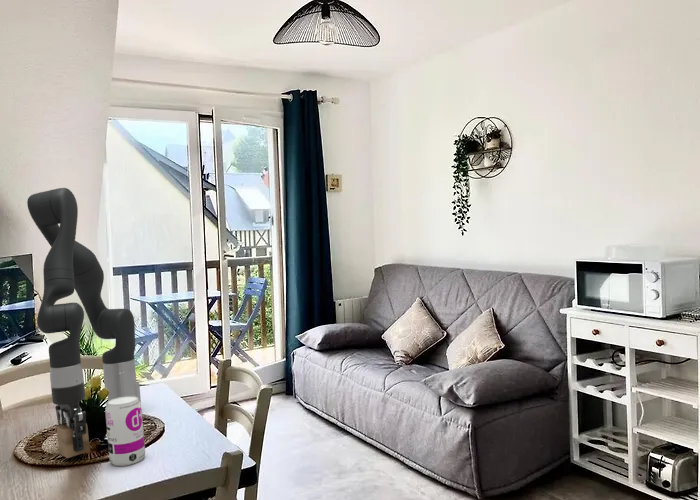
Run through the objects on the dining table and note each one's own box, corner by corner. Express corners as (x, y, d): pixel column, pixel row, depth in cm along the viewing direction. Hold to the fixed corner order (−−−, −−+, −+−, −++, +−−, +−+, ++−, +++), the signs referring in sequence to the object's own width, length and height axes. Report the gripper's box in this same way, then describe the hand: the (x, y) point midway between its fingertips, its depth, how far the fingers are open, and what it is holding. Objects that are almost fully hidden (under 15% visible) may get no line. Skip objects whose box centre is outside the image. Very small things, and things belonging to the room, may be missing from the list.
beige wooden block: (81, 446, 156) (78, 419, 155) (89, 450, 152) (87, 423, 151) (59, 453, 152) (56, 426, 151) (67, 458, 148) (64, 430, 147)
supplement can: (152, 455, 149) (147, 396, 149) (127, 468, 142) (122, 406, 141) (128, 452, 153) (123, 394, 152) (102, 465, 145) (97, 404, 145)
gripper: (94, 382, 148) (100, 449, 149) (71, 375, 158) (77, 437, 159) (62, 390, 143) (69, 459, 144) (41, 382, 153) (48, 447, 154)
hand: (73, 447), depth 152 cm, fingers closed on beige wooden block, 5 cm apart
